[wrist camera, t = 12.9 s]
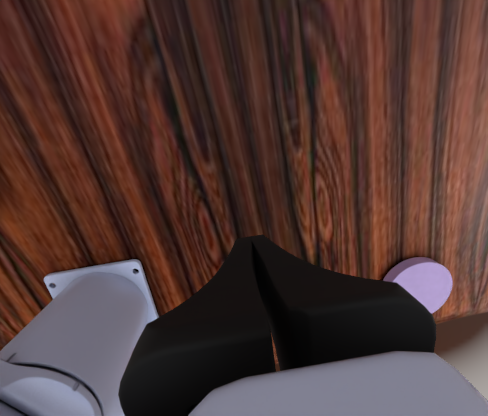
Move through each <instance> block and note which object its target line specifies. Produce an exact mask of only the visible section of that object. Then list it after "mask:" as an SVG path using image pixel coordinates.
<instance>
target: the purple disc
mask: <svg viewBox="0 0 488 416" xmlns="http://www.w3.org/2000/svg"><path fill="white" fill-rule="evenodd" d="M383 281H388V282H396V283H398V284H399V285H401V286H402V287H403V288H404V289H405V290H406V291H408V292H409V293H410V294H411V295H412V296H413V297H415V298H416V299H417V300H418V301H419V302H420V303H421V304H423V305H424V306H425V307H426V308H427V310H428V311H429V312H430V313H431V314H432V313H434V312H435V311H436V310H438V309H439V308H440V307H441V306H442V305H443V304H444V303H445V301H446V300H447V299H448V297H449V295H450V292H451V289H452V277H451V274H450V272H449V271H448V269H447V268H445V267H444V266H443V265H441V264H439V263H438V262H436V261H435V260H433V259H430V258H426V257H414V258H410V259H407V260H404V261H402V262H400V263H399V264H397V265H396V266H395V267H393V268H392V269H391V270H390V271H389V272H388V273H387V275H386V276H385V278H384V279H383Z"/></svg>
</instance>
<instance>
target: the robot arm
mask: <svg viewBox="0 0 488 416" xmlns="http://www.w3.org/2000/svg"><path fill="white" fill-rule="evenodd" d="M134 269H138V272H137V271H135V270H134ZM44 282H45V284H46V286H47V288H48V290H49V292H50V294H51V296H52V298H53V300H52V301H51V302H50V303H49V304H48V305H47V306H46V307H45V308H44V309H43V310H42V311H41V312H40V313H39V314H38V315H37V316H36V317H35V318H34V319H33V320H32V321H31V322H30V323H29V324H28V325H27V326H26V327H25V328H23V329H22V330H21V331H20V332H19V333H18V334H17V335H16V336H15V337H14V338H13V339H12V340H11V341H10V342H9V343H8V344H7V345H6V346H5V347H4V348H3V349H2V350H1V351H0V416H488V401H487V400H486V399H485V398H484V396H482V395H481V393H480V392H479V391H478V390H477V389H476V388H475V387H474V386H473V385H472V384H471V383H470V382H469V381H468V380H467V379H466V378H465V377H464V376H463V375H462V374H461V373H460V372H459V371H458V370H457V369H456V368H455V367H454V366H452V365H451V364H449V363H448V362H446V361H445V360H443V359H442V358H440V357H439V356H438V355H436V354H435V353H434V347H435V340H436V324H435V321H434V318H433V316H432V314H431V313H430V312H429V311H428V310H427V308H426V307H425V306H424V305H423V304H421V303H420V302H419V301H418V300H417V299H416V298H415V297H413V296H412V295H411V294H410V293H409V292H408V291H406V290H405V289H404V288H403V287H402V286H401V285H399V284H398V283H396V282H388V281H381V280H373V279H365V278H360V277H355V276H350V275H345V274H341V273H337V272H334V271H331V270H327V269H324V268H321V267H318V266H315V265H313V264H311V263H308V262H306V261H304V260H301V259H299V258H297V257H295V256H294V255H292V254H290V253H288V252H287V251H285V250H283V249H282V248H280V247H279V246H277V245H276V244H275V243H273V242H272V241H271V240H269V239H268V238H267V237H265V236H264V235H257V236H251V237H245V238H238V239H236V241H235V243H234V245H233V248H232V250H231V252H230V253H229V255H228V257H227V259H226V260H225V262H224V263H223V265H222V266H221V268H220V269H219V271H218V272H217V273H216V274H215V276H214V277H213V278H212V279H211V280H210V281H209V282H208V283H207V284H206V285H205V286H203V287H202V288H201V289H200V290H199V291H198V292H197V293H196V294H194V295H193V296H192V297H190V298H189V299H188V300H186V301H185V302H183V303H182V304H180V305H179V306H178V307H176V308H174V309H173V310H171V311H169V312H168V313H166V314H164V315H162V316H161V317H159V316H158V313H157V310H156V307H155V304H154V301H153V298H152V295H151V292H150V289H149V286H148V283H147V280H146V277H145V274H144V271H143V267H142V264H141V262H140V261H139V260H137V259H131V260H126V261H120V262H114V263H108V264H102V265H96V266H90V267H84V268H79V269H73V270H67V271H61V272H55V273H50V274H48V275H47V276H45V277H44ZM52 283H54V284H55V285H53V284H52ZM270 330H271V331H270ZM271 333H272V336H273V340H274V344H275V348H276V353H277V357H278V362H279V366H280V371H278V372H276V369H275V361H274V353H273V345H272V337H271Z"/></svg>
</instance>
